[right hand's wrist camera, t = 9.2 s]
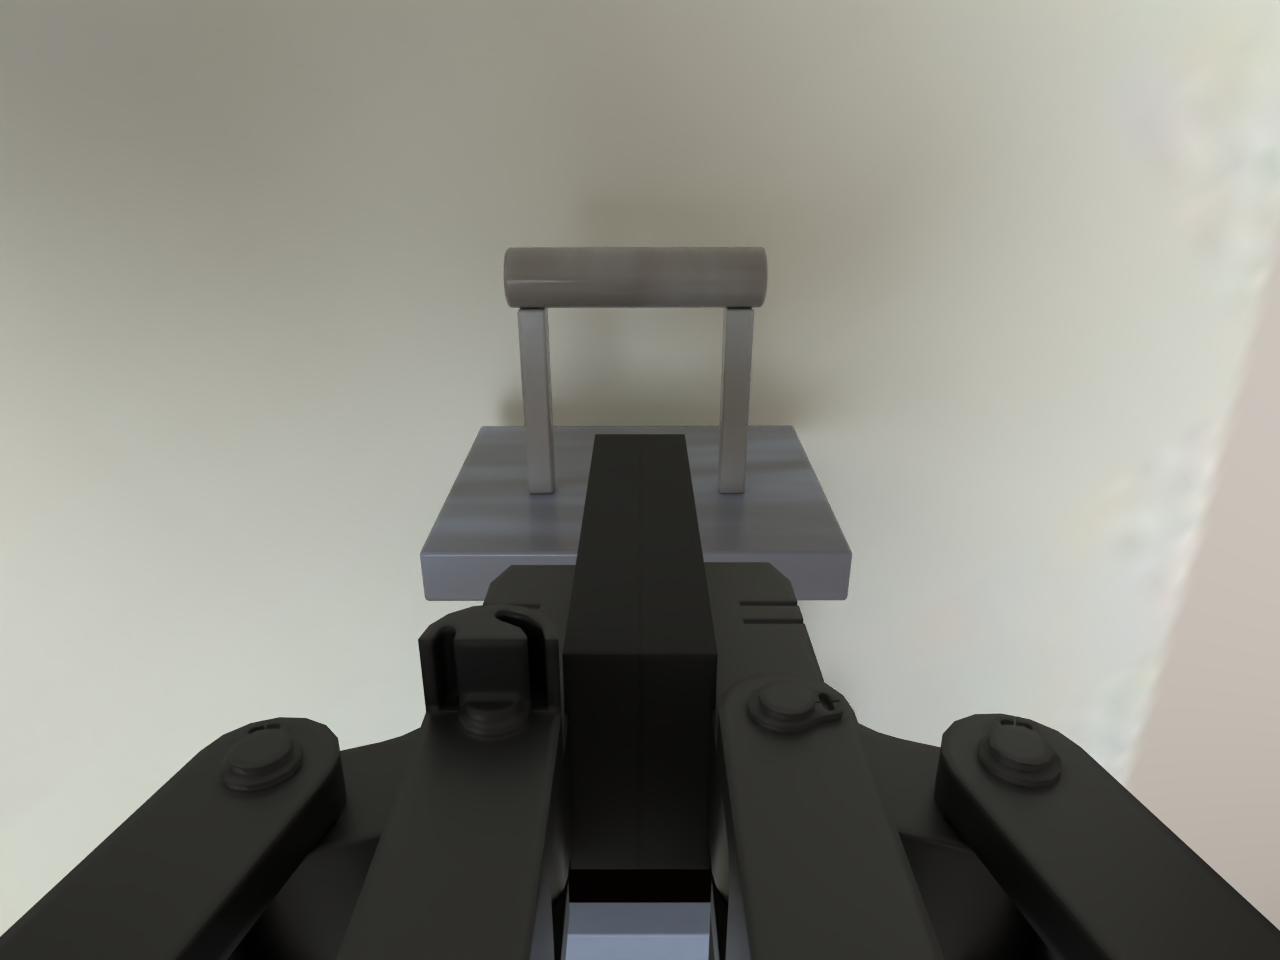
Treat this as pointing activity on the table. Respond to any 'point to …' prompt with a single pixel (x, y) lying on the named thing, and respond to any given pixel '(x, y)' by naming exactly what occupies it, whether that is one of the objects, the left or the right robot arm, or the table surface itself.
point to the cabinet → (638, 931)
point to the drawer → (561, 455)
